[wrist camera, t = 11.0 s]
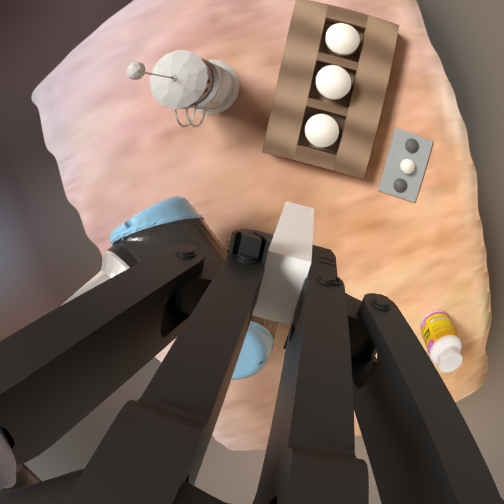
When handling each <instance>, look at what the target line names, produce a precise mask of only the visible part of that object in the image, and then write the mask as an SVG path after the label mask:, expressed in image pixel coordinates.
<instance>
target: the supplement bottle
mask: <svg viewBox="0 0 504 504" xmlns="http://www.w3.org/2000/svg"><path fill="white" fill-rule="evenodd" d="M420 330H421V333H422V336H423V338H424V341H425V344H426V347H427V350H428V352H429V355H430V358H431V360H432V361H433V362H434V363H435V364H438V366H439V369H440V370H441V371H442V372H445V373H448V372H452V371H454V370H456V369H457V368H458V367H459V366H460V365H461V363H462V355H461V353H460V352H461V349H462V343H461V341H460V338H459V336H458V334H457V332H456V330H455V328H454V326H453V324H452V322H451V320H450V318H449V316H448V315H447V313H446V312H444V311H442V310H433V311H431V312H429V313H427V314H426V315H425V316H424V317H423V319H422V321H421V323H420Z"/></svg>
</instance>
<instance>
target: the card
mask: <svg viewBox="0 0 504 504" xmlns="http://www.w3.org/2000/svg"><path fill="white" fill-rule="evenodd" d="M432 144H433V141H430V140H428V139H425V138H423V137H420V136H418V135H415V134H412V133H410V132H407V131H404V130H401V129H399V128H396V127H395V129H394V133H393V137H392V141H391V145H390V148H389V152H388V156H387V159H386V163H385V166H384V170H383V173H382V177H381V180H380V183H379V187H378V191H381V192H384V193H387V194H391V195H394V196H397V197H400V198H403V199H405V200H408V201H411V202H414V203H415V200H416V197H417V194H418V191H419V188H420V185H421V182H422V179H423V175H424V172H425V169H426V165H427V162H428V158H429V155H430V151H431V148H432Z"/></svg>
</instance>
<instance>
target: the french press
mask: <svg viewBox="0 0 504 504" xmlns="http://www.w3.org/2000/svg"><path fill="white" fill-rule="evenodd" d="M144 74H150V75H151V78H150V86H151V92H152V94H153V96H154V97H155V99H156V101H157V102H159V103H160V104H162V105H163V106H165V107H168V108H174V112H175V117H176V120H177V122H178V123H179V125H180V126H182V127H187V126H188V125H189V124H190V125H191V126H193V127H198V126H199V125H200V124H201V123H202V121H203V119H204V115H205V114H208V115H212V114H218V113H221V112H223V111H225V110H226V109H228V108H229V107H231V105H232V104H233V103H234V101H235V100H236V99H237V96H238V93H239V89H240V84H239V77H238V75H237V73H236V72H235V70H234V69H233V67H231V66H230V65H228V64H227V63H225V62H224V61H218V60H209V61H207V60H205V59H202V58H200V57H199V56H198V55H196V54H194V53H193V52H191V51H185V50H177V51H174V52H170V53H168V54H166V55H165V56H164V57H162V58H161V59H160V60H159V61H158V62H157V64H156V65H155V67H154V68H153V70H152V73H148V72H145V66H144V64H142V63H132V64H131V65H129V67H128V69H127V75H128V77H129V78H130V79H135V80H138V79H140V78H142V77H143V75H144ZM189 108H193V109H194V111H193V115H192V118H191V121H190V119H189V116H188V109H189ZM177 109H186V114H187V119H188V121H189V123H188V124H187V125H182V124H181V123H180V122H179V120H178V118H177V112H176V110H177ZM195 110H196V111H198V112H199V113H203V116H202V119H201V122H200V123H199V124H198V125H193V124H192V123H191V122H192V120H193V118H194V114H195Z"/></svg>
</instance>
